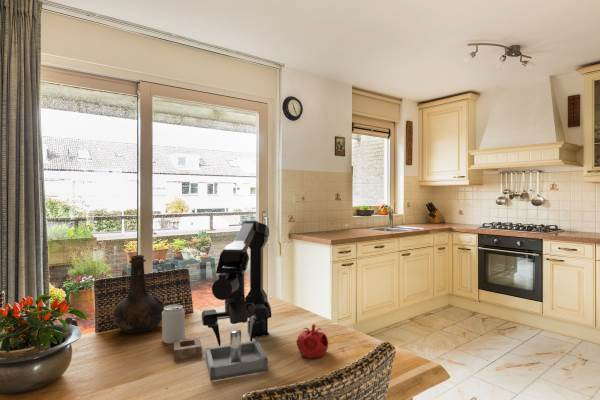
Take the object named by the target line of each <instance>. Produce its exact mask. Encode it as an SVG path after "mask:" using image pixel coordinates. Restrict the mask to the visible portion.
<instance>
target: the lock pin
mask: <svg viewBox="0 0 600 400" xmlns="http://www.w3.org/2000/svg"><path fill="white" fill-rule="evenodd" d="M241 343H242V330H241V329H232V330H230V331H229V345H230V363H234V362H240V361H241Z"/></svg>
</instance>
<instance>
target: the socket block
mask: <svg viewBox="0 0 600 400" xmlns="http://www.w3.org/2000/svg"><path fill="white" fill-rule="evenodd" d="M173 352H174V353H173V355H174V356H173V357H174V361H177V360H179V361H180V360H184V359H185V360H186V359H190V358H191V359H193V358H197V357H198V358H200V357H202V355H203V353H202V352H203V350H202V342H201V338H200V337H198V336H196V337H191V338H190V337H189V338H185V339H182V340H175V341H174V343H173Z"/></svg>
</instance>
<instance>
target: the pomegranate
mask: <svg viewBox="0 0 600 400" xmlns="http://www.w3.org/2000/svg"><path fill="white" fill-rule="evenodd" d="M316 327H317V326H316V324H314V323H313V324H312V325H311V330H310V329H309V328H308V327H304V328H303V331H302V332H301V333H300V334H299V335H298V336H297V339H296V343H295V344H296V346H297V347H296V348H297V349H298V351H299V353H300V354H301V355H302V356H303V357H304V358H308V359H316V358H320V357H323V356H324V355H326V353H327V351H328V348H329V339H328V337H327V335H326V334H325V333H324V332H322V331H319V330H321V328H320V327H319V328H316Z"/></svg>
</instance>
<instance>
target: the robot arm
mask: <svg viewBox="0 0 600 400" xmlns="http://www.w3.org/2000/svg"><path fill="white" fill-rule="evenodd" d="M269 236H270V228H269V226H268V225H267V224H265V223H261V222H260V221H258V220H254V219H253V220H251V219H249V220H247V219H245V220H243V221H242V222H241V227H240V229H239V231H238V233H237V234H236V236H235V238H234V239H233V242H230V243H228V244H227V245H226V246H225V247H224V248H223V249H222V251H221V252H220V254H219V258H218V262H217V267H216V272H215V273H216V274H218V279H216V280H215V281H213V283H212V286H211V292H212V295H213V296H214V297H215V299H218V300H220V301H224V311H222V312H221V311H220V312H217V310H216V309H213V308H212V309H206V310H203V311H202V312H201V322H202V325H203V326H207V328H209V329H212V331H213V333H214V335H215V339H216V340H217V344H218V346H222V345H221V344H222V343H221V335H220V326H219V323H218V322H219V321H218V320H225V319H229V322H230V324H231V325H236V324H239V323H240V324H241V323H242V324H244V323H246V324H247V333H248V335H249V342H252V341H253V339H254V338H258V337H260V338H261V337H267V336H269V335H270V332H269V325H268V324H269V323H268V322H269V321H268V320H269V319H271V318H272V307H271V305H270V301H268V299H269V298H268V295H267V293H266V291H265V290H264V248H265V246H266V244H267V242H268V239H269ZM248 249H249V250H250V251H249V254H248ZM249 261H250V262H249ZM249 263H250V264H249ZM248 264H249V265H250V271H249V292H248V293H247V295H245V271H247V268H248Z"/></svg>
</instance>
